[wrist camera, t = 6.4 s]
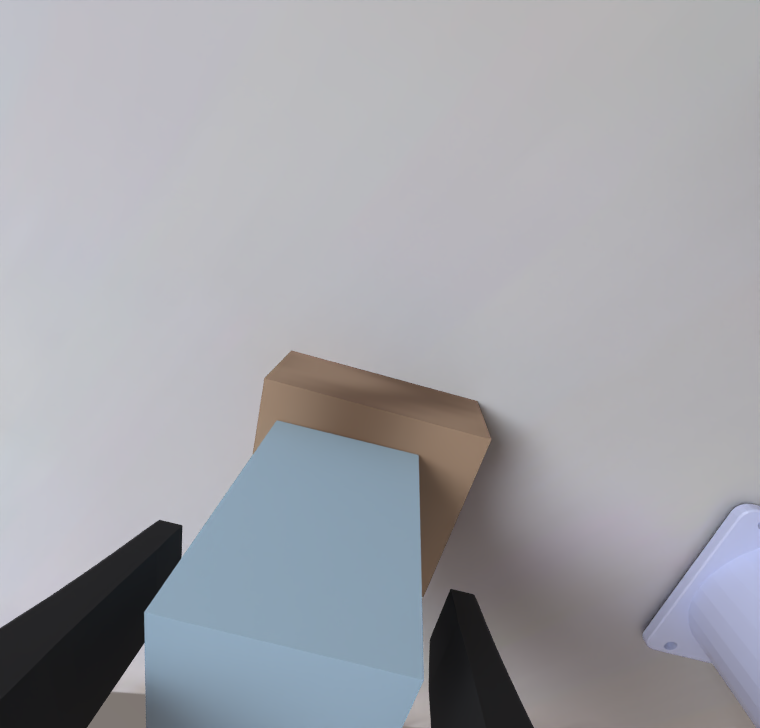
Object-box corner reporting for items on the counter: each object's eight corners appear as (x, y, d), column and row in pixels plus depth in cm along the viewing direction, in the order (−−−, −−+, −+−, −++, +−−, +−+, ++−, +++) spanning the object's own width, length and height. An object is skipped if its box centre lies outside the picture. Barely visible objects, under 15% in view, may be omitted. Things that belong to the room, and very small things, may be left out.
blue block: (418, 454, 11) (424, 680, 6) (385, 558, 13) (364, 811, 7) (276, 420, 11) (144, 611, 6) (261, 528, 13) (146, 758, 7)
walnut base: (475, 396, 14) (491, 439, 11) (421, 533, 16) (423, 597, 14) (294, 347, 14) (264, 378, 11) (268, 492, 16) (238, 547, 13)
